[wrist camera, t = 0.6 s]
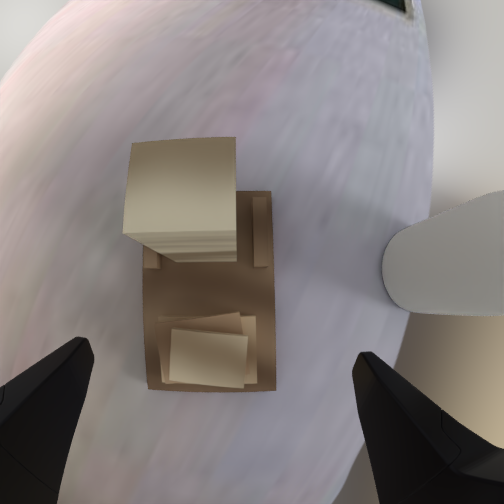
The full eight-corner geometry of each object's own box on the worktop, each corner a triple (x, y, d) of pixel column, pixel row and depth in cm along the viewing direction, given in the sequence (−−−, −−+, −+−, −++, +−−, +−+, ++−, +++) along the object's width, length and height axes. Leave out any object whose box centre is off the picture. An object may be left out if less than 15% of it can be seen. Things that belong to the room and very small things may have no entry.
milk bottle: (405, 329, 23) (611, 353, 3) (363, 258, 24) (583, 180, 4) (454, 279, 24) (628, 250, 4) (417, 213, 25) (588, 122, 5)
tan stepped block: (274, 385, 22) (281, 403, 18) (152, 384, 21) (137, 400, 17) (269, 196, 24) (275, 177, 20) (150, 199, 23) (135, 182, 19)
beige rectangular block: (236, 261, 22) (236, 230, 11) (177, 262, 22) (122, 233, 11) (236, 209, 22) (235, 136, 12) (178, 211, 22) (132, 143, 11)
